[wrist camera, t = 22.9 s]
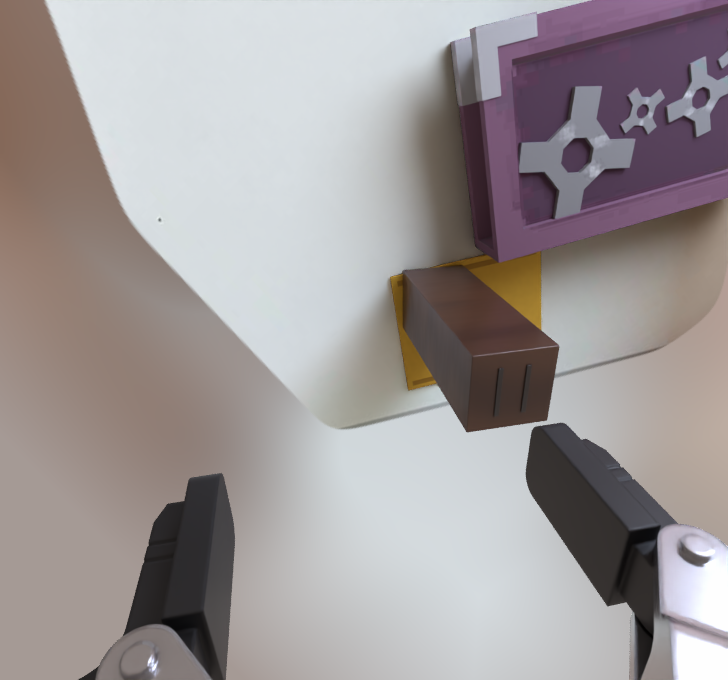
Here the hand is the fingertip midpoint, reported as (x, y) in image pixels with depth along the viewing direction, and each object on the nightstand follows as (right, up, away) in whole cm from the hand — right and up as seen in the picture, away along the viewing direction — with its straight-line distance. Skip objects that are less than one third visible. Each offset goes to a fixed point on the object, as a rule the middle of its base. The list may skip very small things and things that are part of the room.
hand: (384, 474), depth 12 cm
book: (+20, +22, +27) cm, 40 cm away
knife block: (+6, +7, +31) cm, 33 cm away
